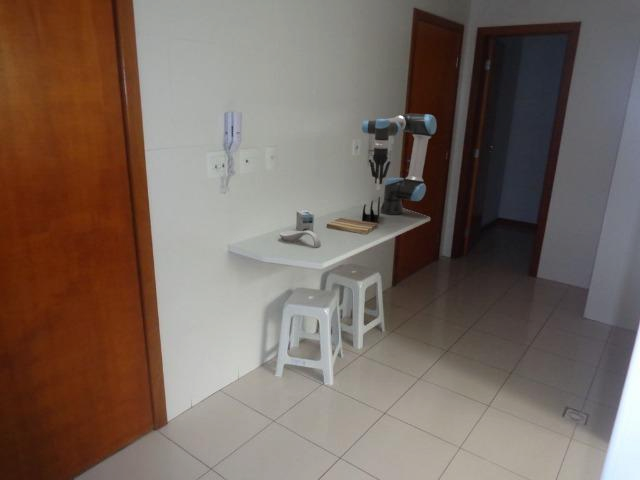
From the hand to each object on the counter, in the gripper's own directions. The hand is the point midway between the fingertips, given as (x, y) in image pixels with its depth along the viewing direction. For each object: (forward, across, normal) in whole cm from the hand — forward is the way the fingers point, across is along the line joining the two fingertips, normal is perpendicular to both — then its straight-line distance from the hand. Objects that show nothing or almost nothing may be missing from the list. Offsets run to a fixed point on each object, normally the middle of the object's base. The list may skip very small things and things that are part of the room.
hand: (378, 189), depth 266 cm
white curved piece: (+22, -21, -52) cm, 60 cm away
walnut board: (+22, -11, -3) cm, 25 cm away
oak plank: (+22, -11, -13) cm, 28 cm away
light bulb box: (+22, -30, -32) cm, 49 cm away
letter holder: (+23, -10, +16) cm, 30 cm away
